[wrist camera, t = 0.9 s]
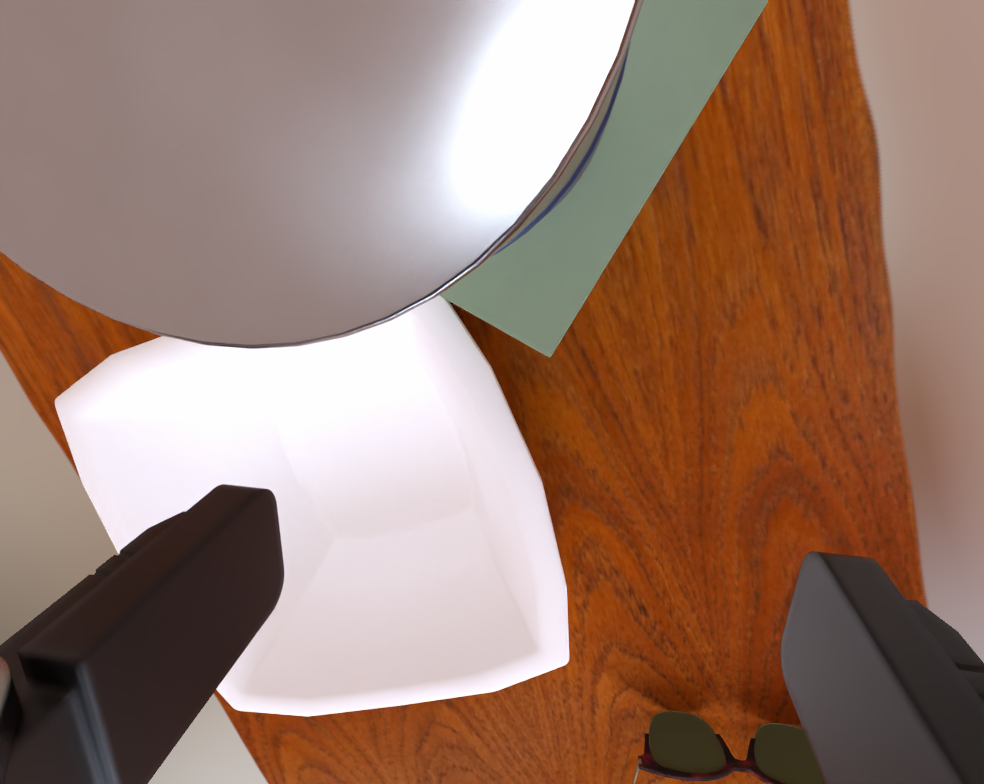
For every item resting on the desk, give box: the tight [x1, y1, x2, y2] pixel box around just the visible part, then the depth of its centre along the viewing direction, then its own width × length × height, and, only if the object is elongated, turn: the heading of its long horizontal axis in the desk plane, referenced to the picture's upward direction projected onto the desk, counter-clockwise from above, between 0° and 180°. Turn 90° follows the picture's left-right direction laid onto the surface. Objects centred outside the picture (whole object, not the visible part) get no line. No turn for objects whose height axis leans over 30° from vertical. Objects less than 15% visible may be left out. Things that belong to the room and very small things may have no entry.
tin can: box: [0, 0, 644, 349], centre depth 9 cm, size 6×6×12 cm
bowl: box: [55, 295, 569, 716], centre depth 35 cm, size 24×25×10 cm
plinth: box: [439, 0, 768, 357], centre depth 23 cm, size 10×10×18 cm
